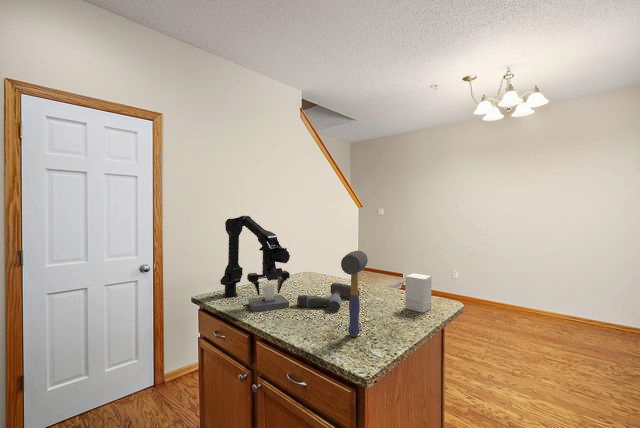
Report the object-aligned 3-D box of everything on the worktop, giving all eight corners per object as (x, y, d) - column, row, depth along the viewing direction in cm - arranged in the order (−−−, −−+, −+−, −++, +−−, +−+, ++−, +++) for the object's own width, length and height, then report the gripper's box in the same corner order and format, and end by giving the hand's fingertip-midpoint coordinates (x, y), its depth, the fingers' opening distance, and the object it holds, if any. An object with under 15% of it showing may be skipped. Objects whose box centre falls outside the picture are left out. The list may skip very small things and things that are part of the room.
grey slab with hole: (248, 303, 136) (248, 298, 136) (281, 299, 143) (281, 294, 143) (253, 312, 125) (253, 306, 125) (289, 307, 132) (289, 301, 132)
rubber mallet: (348, 327, 111) (349, 248, 110) (368, 330, 108) (369, 250, 107) (338, 340, 99) (339, 253, 99) (359, 344, 96) (360, 254, 96)
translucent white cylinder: (263, 304, 135) (263, 285, 135) (271, 303, 137) (271, 284, 137) (265, 307, 132) (265, 287, 131) (273, 306, 133) (273, 286, 133)
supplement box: (431, 308, 133) (432, 275, 133) (423, 313, 126) (424, 279, 126) (413, 303, 139) (413, 272, 139) (404, 308, 132) (404, 275, 132)
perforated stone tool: (360, 298, 147) (361, 284, 147) (358, 301, 142) (358, 287, 142) (333, 294, 153) (333, 281, 153) (329, 297, 148) (329, 283, 148)
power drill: (302, 298, 148) (342, 300, 145) (295, 310, 129) (340, 313, 127) (302, 287, 147) (342, 289, 145) (295, 298, 129) (340, 301, 127)
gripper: (252, 265, 123) (251, 302, 123) (293, 262, 130) (293, 297, 131) (247, 261, 133) (246, 294, 133) (286, 258, 141) (285, 290, 141)
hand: (268, 294), depth 134 cm, fingers open, 9 cm apart
